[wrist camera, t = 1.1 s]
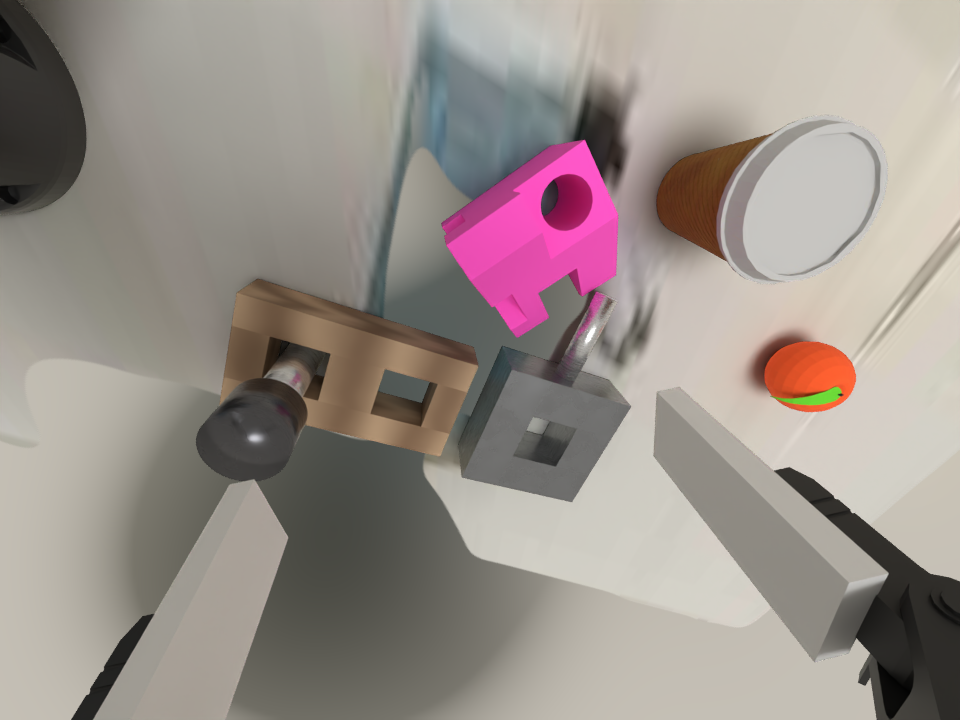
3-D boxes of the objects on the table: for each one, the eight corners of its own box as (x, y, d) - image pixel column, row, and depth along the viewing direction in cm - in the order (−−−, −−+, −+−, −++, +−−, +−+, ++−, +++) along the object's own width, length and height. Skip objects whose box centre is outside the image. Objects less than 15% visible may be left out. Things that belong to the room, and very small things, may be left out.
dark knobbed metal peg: (273, 365, 36) (191, 471, 24) (284, 315, 34) (201, 402, 22) (330, 380, 37) (281, 488, 25) (343, 333, 36) (297, 424, 23)
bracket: (441, 223, 33) (446, 245, 23) (550, 145, 31) (601, 137, 22) (515, 334, 38) (543, 388, 28) (612, 272, 36) (674, 309, 27)
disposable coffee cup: (652, 270, 36) (745, 314, 26) (624, 164, 32) (723, 163, 21) (753, 222, 35) (893, 247, 25) (738, 107, 31) (900, 76, 21)
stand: (239, 381, 36) (219, 404, 33) (257, 278, 33) (236, 292, 29) (438, 431, 41) (439, 456, 38) (473, 347, 38) (478, 366, 34)
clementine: (738, 400, 44) (791, 440, 38) (737, 347, 41) (794, 380, 35) (809, 377, 44) (874, 413, 37) (813, 321, 41) (885, 350, 34)
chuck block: (458, 444, 42) (461, 477, 38) (537, 265, 35) (553, 280, 30) (557, 468, 45) (571, 502, 41) (649, 309, 38) (679, 328, 34)
